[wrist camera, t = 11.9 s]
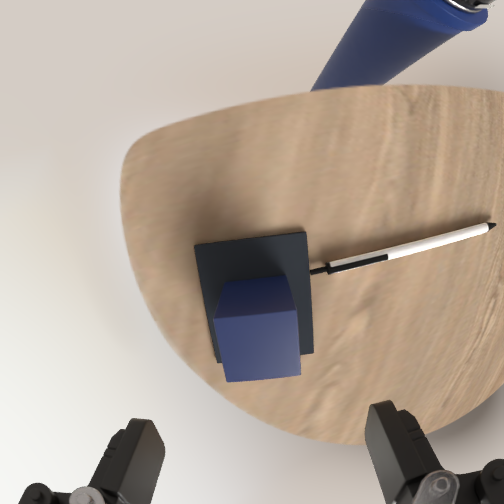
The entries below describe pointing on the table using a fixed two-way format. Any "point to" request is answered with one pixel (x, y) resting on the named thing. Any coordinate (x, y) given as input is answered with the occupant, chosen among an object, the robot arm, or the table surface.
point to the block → (258, 329)
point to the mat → (258, 274)
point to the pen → (402, 249)
